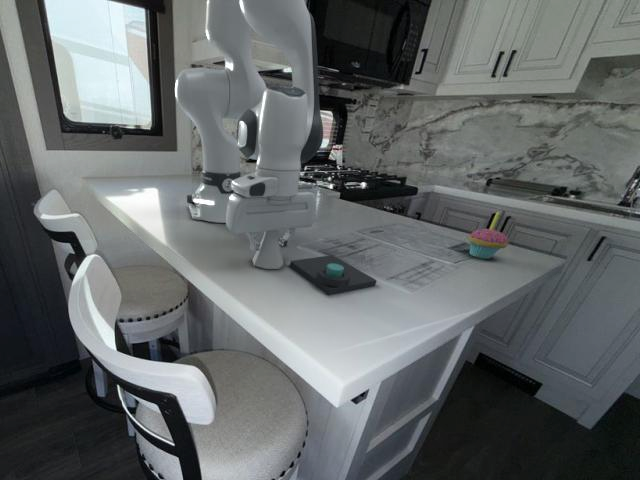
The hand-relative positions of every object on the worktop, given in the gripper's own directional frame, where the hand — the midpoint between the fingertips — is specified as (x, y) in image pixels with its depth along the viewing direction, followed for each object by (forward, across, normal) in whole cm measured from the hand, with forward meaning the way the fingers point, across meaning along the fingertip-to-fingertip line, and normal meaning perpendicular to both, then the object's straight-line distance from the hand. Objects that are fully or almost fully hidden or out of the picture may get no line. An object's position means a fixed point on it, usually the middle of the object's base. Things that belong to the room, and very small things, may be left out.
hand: (269, 248), depth 68 cm
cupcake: (+4, -58, +13) cm, 60 cm away
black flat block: (+4, -10, +10) cm, 15 cm away
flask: (+4, 0, 0) cm, 4 cm away
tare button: (+1, -7, +14) cm, 16 cm away
